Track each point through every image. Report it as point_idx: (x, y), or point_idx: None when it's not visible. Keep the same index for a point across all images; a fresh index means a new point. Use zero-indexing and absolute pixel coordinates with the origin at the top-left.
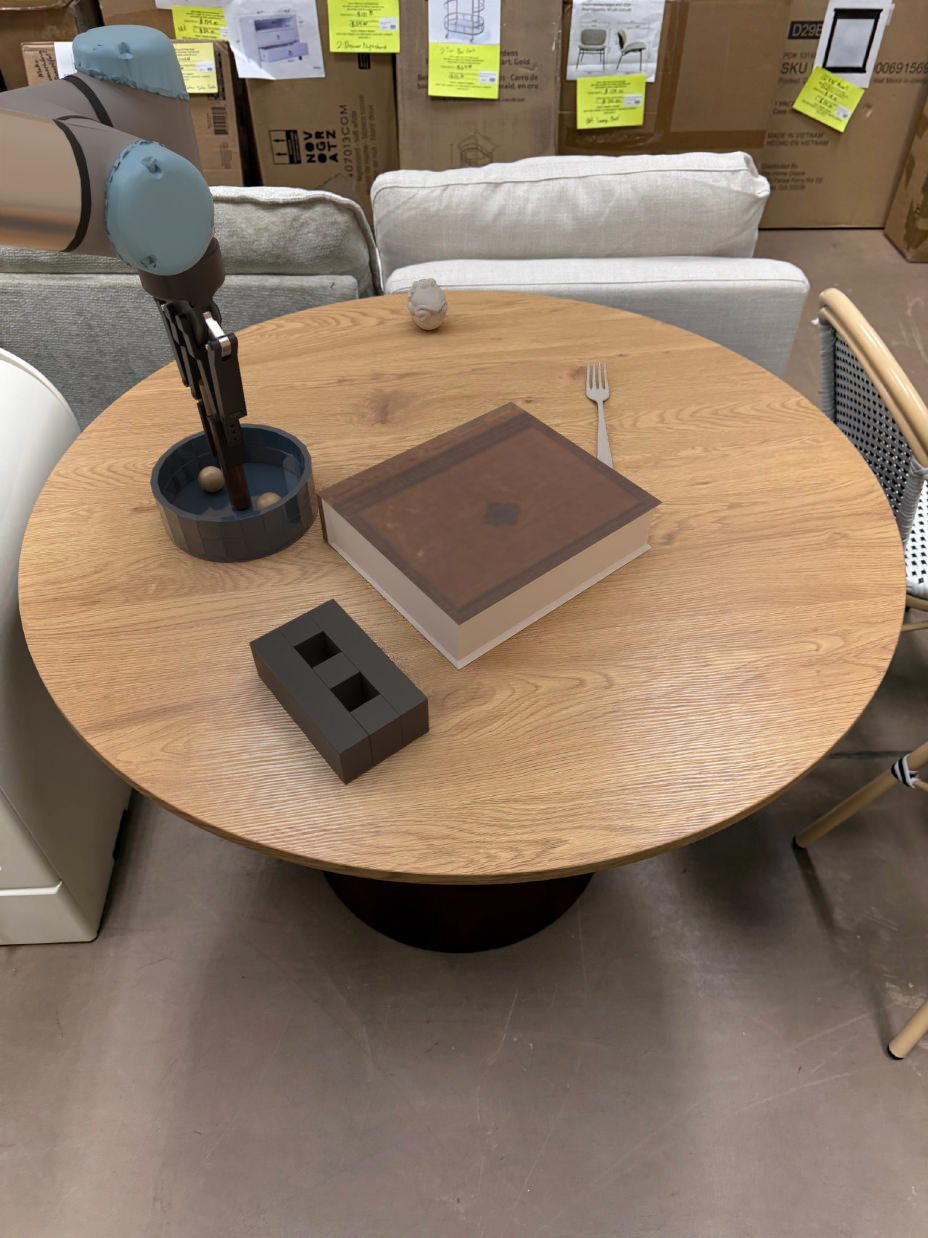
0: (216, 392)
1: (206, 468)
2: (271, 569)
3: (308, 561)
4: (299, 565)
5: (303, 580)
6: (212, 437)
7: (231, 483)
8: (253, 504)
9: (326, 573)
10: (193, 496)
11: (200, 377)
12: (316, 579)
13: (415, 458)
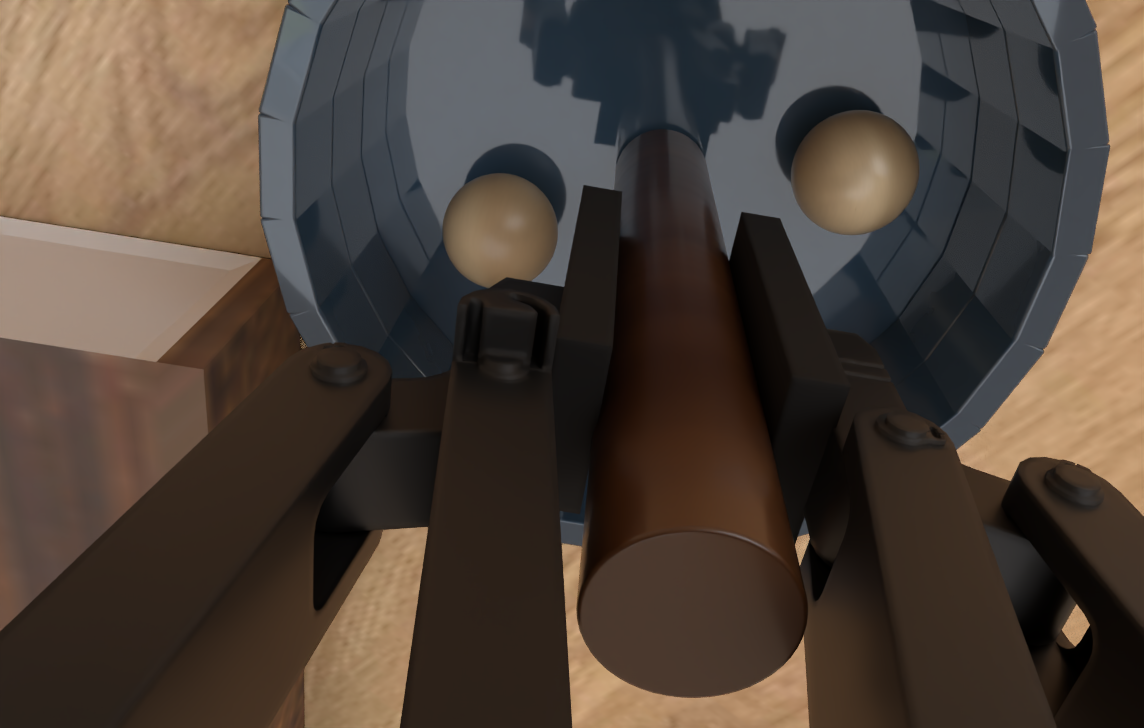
0: (211, 538)
1: (880, 186)
2: (271, 7)
3: (224, 142)
4: (224, 103)
5: (140, 57)
6: (748, 282)
7: (634, 180)
8: None
9: (126, 145)
10: (883, 57)
11: (850, 597)
12: (117, 97)
13: None
